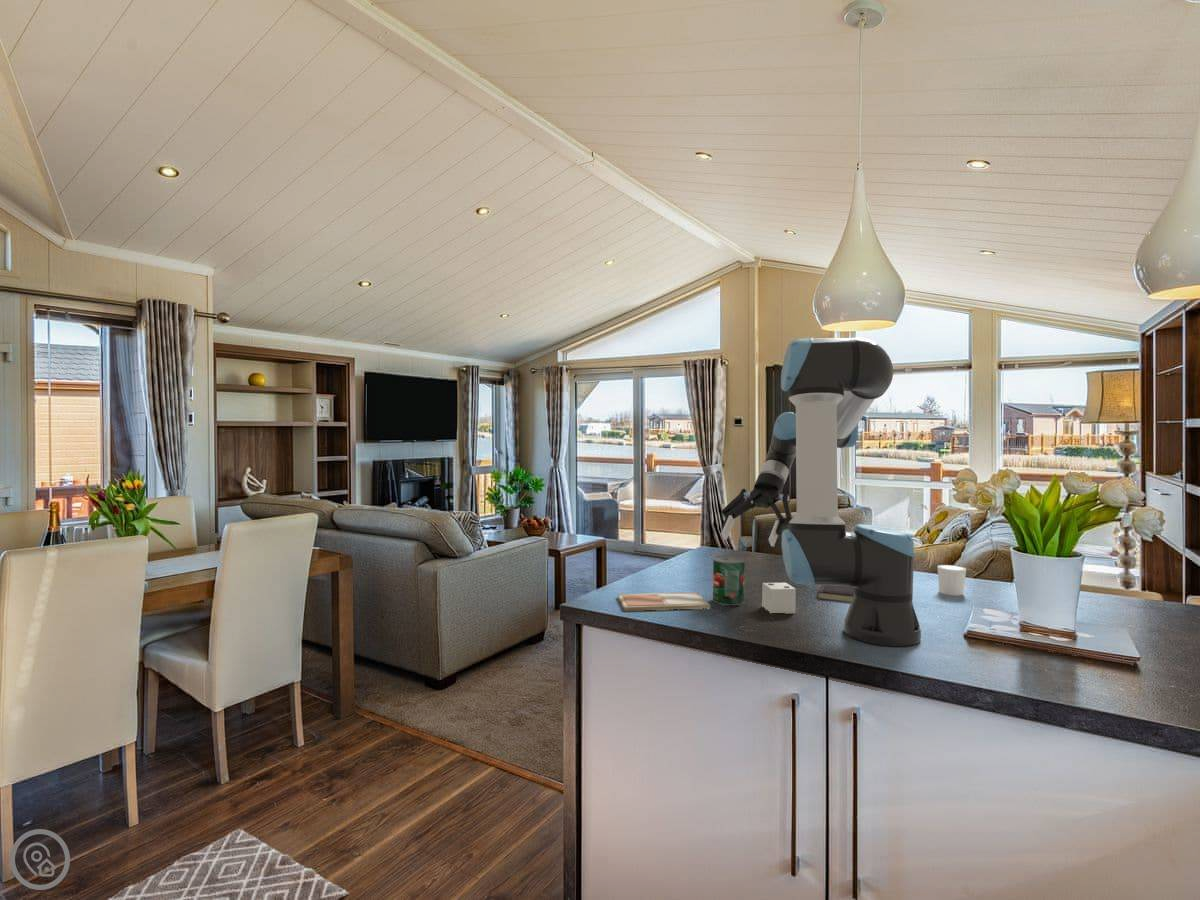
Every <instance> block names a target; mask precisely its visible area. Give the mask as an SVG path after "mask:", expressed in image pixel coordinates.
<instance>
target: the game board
mask: <svg viewBox="0 0 1200 900" xmlns="http://www.w3.org/2000/svg"><path fill="white" fill-rule="evenodd" d="M617 598H618V600H619V602H620V604H621V606H622V608H623V610H624V612H644V610H656V611H674V610H673V609H678V610H677V611H680V610H679V609H693V610H706V609H705V608H710V609H711V604H710V603H709V602H707V600H706V599H705V598H704V597H702V595H701V594H700V593H699V592H694V591H693V592H691V591H690V592H662V593H661V592H657V593H656V592H655V593H618V594H617ZM703 608H704V609H703ZM670 609H671V610H670Z"/></svg>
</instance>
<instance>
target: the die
mask: <svg viewBox="0 0 1200 900" xmlns="http://www.w3.org/2000/svg"><path fill="white" fill-rule="evenodd" d="M761 586H762V587H761V588H762V589H761V590H762V591H761V592H762V593H761V599H762V600H761V607H762V608H763V607H764V608H765V609H764V608H763V609H764V610H766V611H767V610H768V611H769V612H770V613H769V612H768V611H767V612H768V613H769V614H771V613H785V614H796V602H797V601H796V600H797V599H796V598H797V597H796V596H797V595H796V594H797V593H796V591H797V589H796V588H795V587H794V586H792V585H790V584H789V583H787V582H762V585H761Z"/></svg>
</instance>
